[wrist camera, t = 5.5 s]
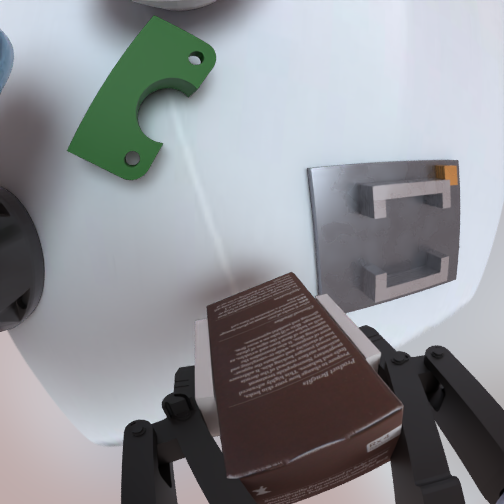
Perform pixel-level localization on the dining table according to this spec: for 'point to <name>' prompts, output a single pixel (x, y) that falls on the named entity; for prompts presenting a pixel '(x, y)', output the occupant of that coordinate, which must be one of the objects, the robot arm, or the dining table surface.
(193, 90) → the clamp
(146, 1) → the bowl
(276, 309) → the box
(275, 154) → the dining table surface
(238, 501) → the robot arm
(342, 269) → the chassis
